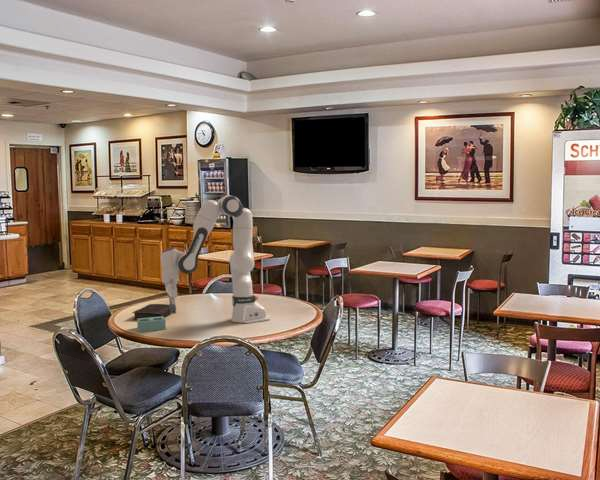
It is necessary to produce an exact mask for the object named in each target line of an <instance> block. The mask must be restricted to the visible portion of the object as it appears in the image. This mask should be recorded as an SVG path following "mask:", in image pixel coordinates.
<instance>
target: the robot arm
mask: <svg viewBox="0 0 600 480" xmlns="http://www.w3.org/2000/svg"><path fill="white" fill-rule="evenodd" d="M221 215H226V216H230V217H232V221H233V223H232V245H233V252H232V253H231V255H230V257H229V267H230V275H231V282H232V298H231V301H232V302H231V304H232V312H231V317H230V321H232V322H233V323H241V324H242V323H244V324H251V323H259V322H263V321H270V320H271V316H270V315H269V314H267V310H266V308H265V306H263V305H262V304H261V303H259V302H258V300H259V297H258V296H257V295H254V294H253V280H252V276H251V272H252V271H253V269H254V267H255V265H256V264H255V259H254V247H253V246H254V245H253V232H254V231H253V229H254V226H253V222H254V221H253V213H252V211H251V210H250V209H249V208H247V207H244V205H243V204H242V202H241V200H240V199H239V198H238V197H237V196H234V195H230V194H229V195H224V196H220V198H218V199H217V200H214V199H207V200H205V201H204V203H203V204H202V206H201V207H200V208H199V210H198V212H197V214H196V216H195V218H194V221H193V224H192V229H193V238H192V240H191V243H190V245H189V247H188V249H187V250H186V252H183V251H180V250H178V249H177V248H174V247H170V248H165V249H164V250H162V252H161V254H160V265H161V277H162V278H161V280H162V283H164V288H165V292H166V293H167V294H168V297H169V296H170V297H171V304H175V305H176V298H178V288H177V284H178V282H179V281H180V276H179V271H180V272H181V273H182V274H185V275H189V274H190V275H191V274H193V273H194V272H196V271H197V269H198V264H199V256H200V254H201V252H202V249H203V247H204V244H205V242H206V240H207V238H208V236H209V235H210V234H211V232H212V230H213V229H214V227H215V225H216V223H217V222H218V221H217V220H218V219H219V218H220V216H221Z"/></svg>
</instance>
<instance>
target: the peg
mask: <svg viewBox="0 0 600 480" xmlns="http://www.w3.org/2000/svg"><path fill="white" fill-rule="evenodd" d="M168 298H169V299H168V302H169V305H170V315H174V314H176V313H177V306H176V307H175V305H176V303H175V304H171V297H170V296H169V295H168Z"/></svg>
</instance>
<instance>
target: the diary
mask: <svg viewBox="0 0 600 480" xmlns="http://www.w3.org/2000/svg"><path fill="white" fill-rule="evenodd" d="M175 307H176V308H177V306H176V304H175ZM131 313H132V314H134V318H133V319H132V321H137V319H140V318H150V317H161V316H163V317H164V319H165V317H166V318H168V317H169V316H170V315H171V314H170V304H166V303H165V304H164V303H150V304H148V305H145V306H144V307H141V308H138V309H136V310H134V311H133V312H131Z"/></svg>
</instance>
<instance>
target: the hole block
mask: <svg viewBox="0 0 600 480" xmlns="http://www.w3.org/2000/svg"><path fill="white" fill-rule="evenodd" d="M136 323H137V330H138V332H139V333H141V332H142V331H144V332H151V331H161V329H163V330H167V329H166V328H167V327H166V324H167V323H166V319H165V318H164V317H163V316H161V317H150V318H140V319H137V320H136ZM142 333H143V332H142Z"/></svg>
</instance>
